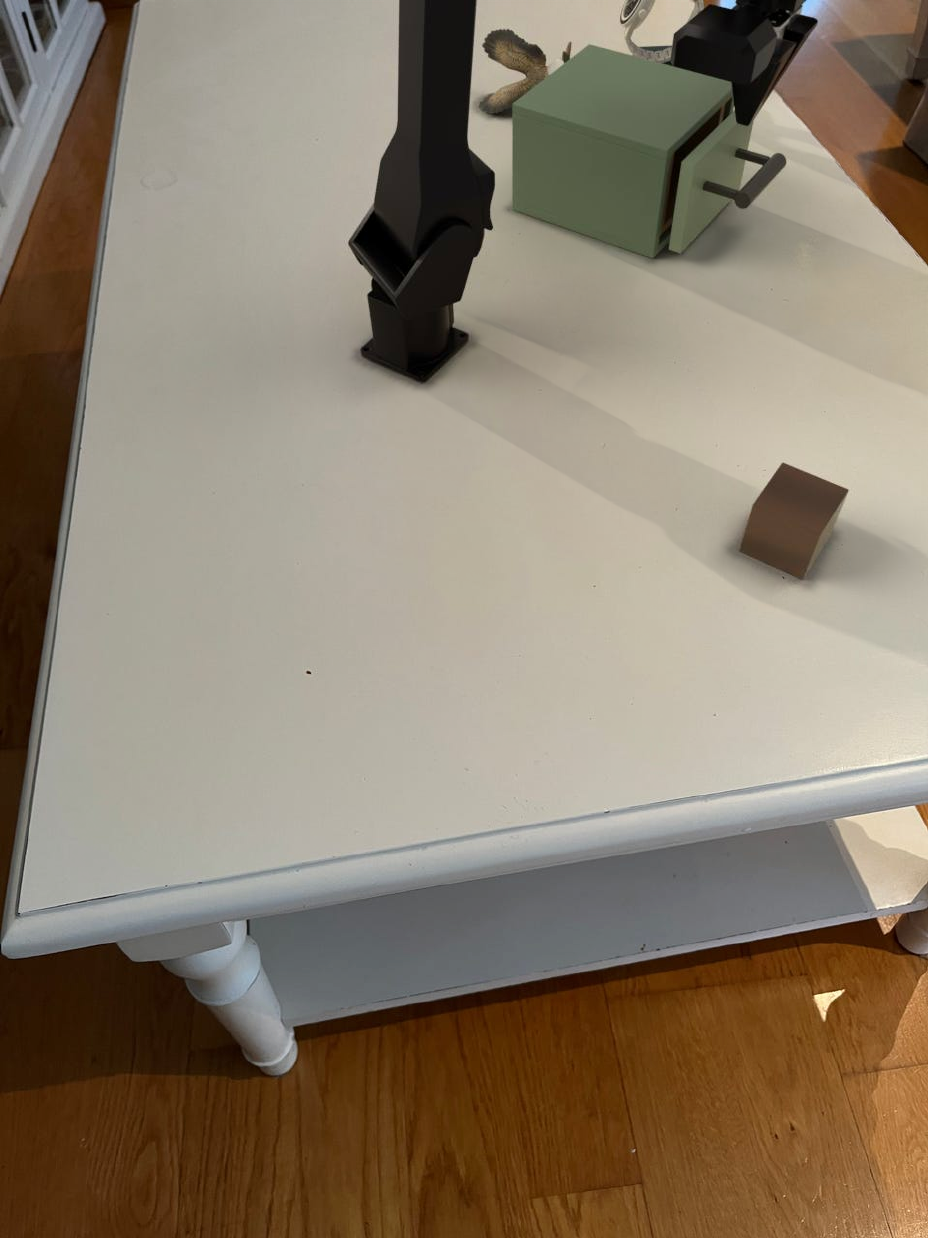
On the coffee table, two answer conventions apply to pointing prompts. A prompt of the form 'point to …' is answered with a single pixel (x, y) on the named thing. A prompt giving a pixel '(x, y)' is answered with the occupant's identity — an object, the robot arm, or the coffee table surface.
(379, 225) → the robot arm
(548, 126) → the cabinet
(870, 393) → the coffee table surface
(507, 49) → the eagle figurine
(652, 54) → the watch
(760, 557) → the block
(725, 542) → the coffee table surface
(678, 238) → the drawer
